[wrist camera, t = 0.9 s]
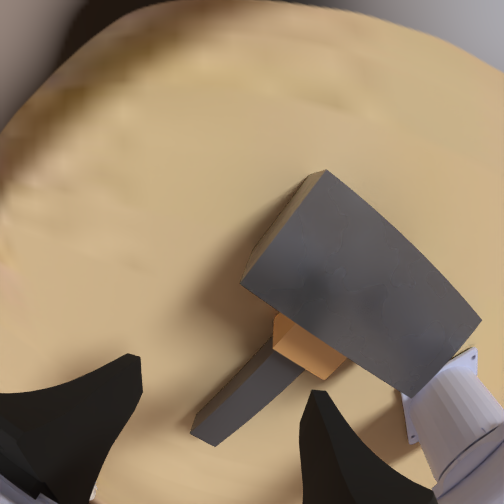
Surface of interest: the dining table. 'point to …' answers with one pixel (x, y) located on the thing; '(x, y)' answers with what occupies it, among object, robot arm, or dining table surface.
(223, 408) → the plug
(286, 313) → the housing
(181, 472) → the dining table surface
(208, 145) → the dining table surface
